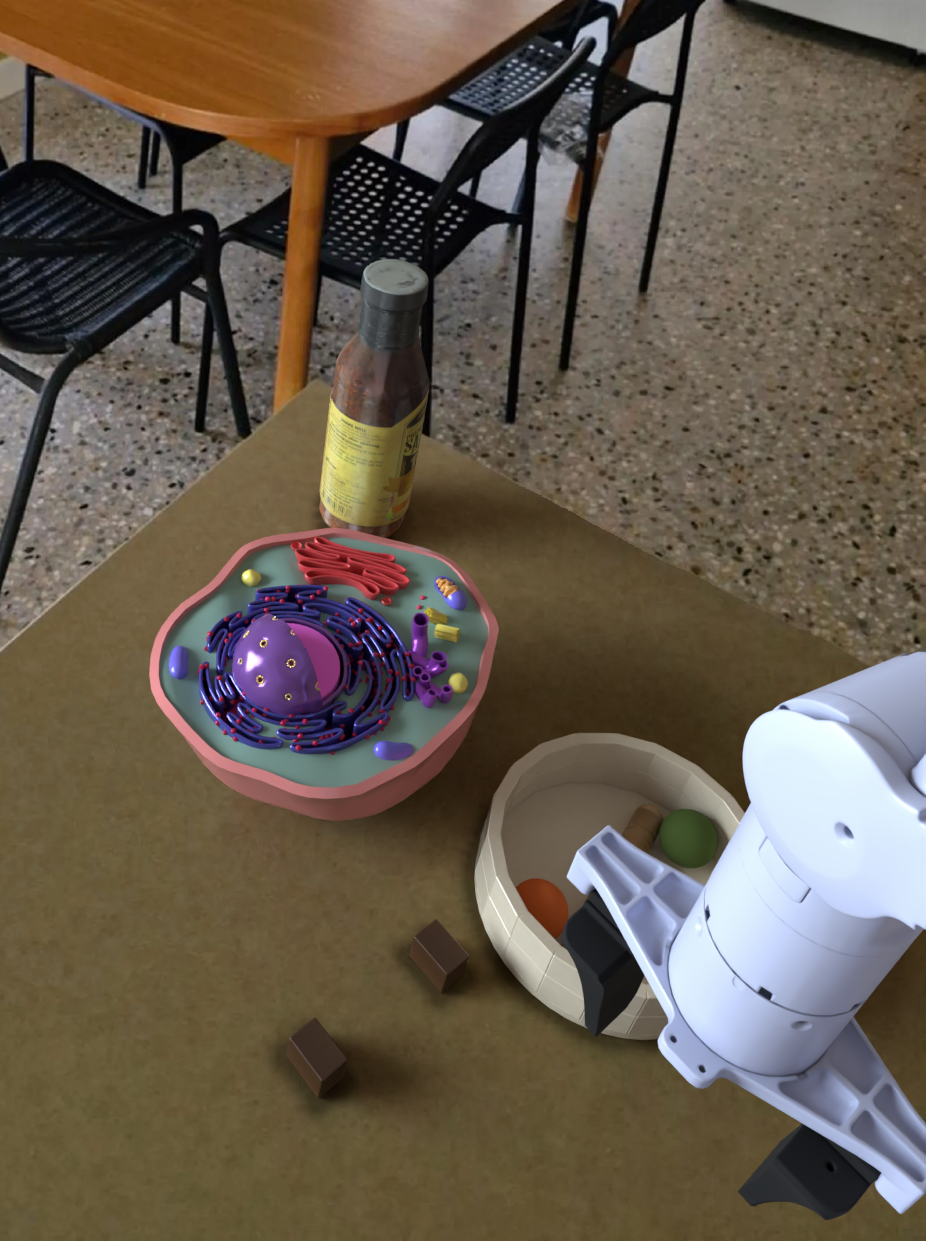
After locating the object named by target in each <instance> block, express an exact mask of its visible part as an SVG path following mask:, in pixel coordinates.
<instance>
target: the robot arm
mask: <svg viewBox="0 0 926 1241" xmlns="http://www.w3.org/2000/svg"><path fill="white" fill-rule="evenodd" d="M743 741H744V742H743V747H742V771H743V778H744V784H745V788H746V791H747V794H748V798H749V801H750V803H749V806H748V807H747V809H746V811H744V813H745V814H744V816H743V818H742V820H741V821H740V823H739V825H738V827H737V829H736V830H735V832H734V834H733V836H732V838H731V839H730V841H729V843H728V845H727V847H726V848H725V850H724V852H723V854H722V856H721V857H720V859H719V861H718V863H717V865H716V866H715V868H714V870H713V872H712V873H711V876H710V878H709V880H708V881H707V883H706V885H704V884H702V883H700V882H699V881H697V880H695V879H693V878H691V877H689V876H687V875H686V874H684V873H682V872H680V871H678V870H676V869H674V868H673V867H671V866H669V865H667V864H665V863H663V862H661V861H660V860H658V859H656V858H654V857H652V856H651V855H649V854H647V853H646V852H644V851H642V850H641V849H639V848H637V847H636V846H635V845H633V844H632V843H630V842H629V841H628V840H626V839H625V838H624V837H623V836H622V835H621V834H619V833H618V832H617V831H616V830H615V829H614V828H613V827H612V826H610V825H608V826H606V827H605V828H604V829H603V830H602V831H600V832H599V833H598V834H597V835H596V836H594V837H593V838H592V839H591V840H590V841H589V842H587V843H586V844H585V845H584V846H583V847H581V848H580V849H579V850H578V851H577V853H576V855H575V857H574V860H573V862H572V865H571V867H570V869H569V872H568V874H567V878H568V879H569V880H570V881H571V882H572V883H573V884H574V885H575V886H576V887H577V888H578V889H579V891H580V892H582V893H583V894H585V895H590V896H589V898H588V900H586V901H585V902H584V904H583V906H582V907H581V908H580V909H579V910H578V911H576V912H575V913H574V914H573V915H572V916H571V917H570V918H569V919H568V920H567V922H566V924H565V926H564V929H563V933H562V939H561V943H562V944H563V945H564V947H565V948H566V949H567V951H568V952H569V954H570V956H571V958H572V959H573V961H574V964H575V966H576V968H577V971H578V974H579V977H580V981H581V985H582V991H583V998H584V1012H585V1026H586V1027H587V1028H586V1029H588V1031H589V1032H590V1033H591V1034H592V1035H593V1036H594V1037H595V1038H597V1037H598V1036H599V1035H600V1034H602V1033H601V1032H602V1031H603V1030H604V1029H605V1028H606V1027H607V1026H608V1025H609V1024H610V1023H612V1022H613V1021H614V1020H615V1019H616V1018H617V1017H618V1016H619V1015H620V1014H621V1013H622V1012H623V1011H624V1010H625V1009H626V1008H627V1007H628V1005H629V1004H630V1002H631V1001H632V999H633V998H634V996H635V995H636V993H637V991H638V989H639V987H640V985H641V983H642V980H643V978H644V976H645V977H646V979H647V981H648V982H649V984H650V986H651V988H652V990H653V992H654V993H655V995H656V997H657V999H658V1001H659V1002H660V1004H661V1006H662V1008H663V1010H664V1012H665V1013H666V1015H667V1017H668V1024H667V1025H666V1026H665V1028H664V1029H663V1031H662V1033H661V1034H660V1036H659V1038H658V1039H657V1045H658V1046H657V1048H658V1049H659V1052H660V1053H661V1054H662V1056H663V1057H664V1058H665V1059H666V1060H667V1061H668V1062H669V1063H670V1065H672V1066H673V1068H674V1069H676V1071H677V1072H678V1073H679V1074H680V1075H681V1076H682V1077H683V1078H684V1079H685V1080H686V1082H688V1084H690V1085H692V1086H693V1087H694V1088H696V1089H702V1090H705V1089H707V1088H708V1087H711V1085H713V1083H715V1081H716V1080H718V1079H721V1078H722V1079H726V1080H728V1081H730V1082H732V1083H733V1084H735V1085H737V1086H739V1087H740V1088H742V1089H743V1090H745V1091H747V1092H749V1093H750V1094H752V1095H754V1096H756V1097H757V1098H758V1099H760V1100H762V1101H764V1102H765V1103H767V1104H769V1105H770V1106H772V1107H773V1108H776V1109H777V1110H779V1111H781V1112H782V1113H784V1114H785V1115H788V1116H789V1117H791V1118H793V1119H794V1120H796V1121H798V1122H799V1123H801V1124H799V1125H798V1126H797V1127H796V1128H794V1129H793V1130H792V1131H791V1132H790V1133H789V1134H787V1135H786V1136H785V1137H784V1138H782V1139H781V1140H780V1141H779V1142H778V1144H777V1145H776V1146H775V1147H774V1148H773V1150H771V1152H770V1153H769V1154H768V1155H767V1157H765V1159H764V1160H763V1161H762V1162H761V1163H760V1164H759V1166H758V1167H757V1168H756V1169H755V1170H754V1171H753V1172H752V1174H751V1175H750V1176H749V1177H748V1179H746V1181H745V1182H744V1183H743V1184H742V1186H740V1188H739V1189H738V1190H737V1193H738V1194H739V1195H740V1196H741V1197H742V1198H743V1199H744V1201H745V1202H746V1203H747V1204H748V1205H749V1206H750V1207H756V1206H759V1205H763V1204H767V1203H793V1204H795V1205H799V1206H801V1207H804V1208H807V1209H809V1210H811V1211H812V1212H814V1213H815V1214H817V1215H818V1216H819V1217H820V1218H822V1219H823V1220H824V1221H830V1220H833V1219H837V1218H839V1217H841V1216H843V1215H845V1214H847V1213H848V1212H849V1211H851V1210H852V1209H853V1208H854V1207H855V1206H856V1205H857V1203H858V1202H859V1201H860V1200H861V1198H862V1197H863V1196H864V1194H865V1193H866V1192H867V1190H868V1189H869V1188H870V1187H871V1185H873V1183H874V1187H875V1189H876V1191H877V1193H878V1194H879V1195H880V1196H882V1197H883V1199H884V1200H885V1201H886V1202H887V1203H888V1204H889V1205H890V1206H891V1207H892V1208H893V1209H895V1211H896V1212H897V1213H898V1214H900V1215H903V1214H905V1213H906V1212H907V1211H908V1210H909V1209H910V1208H911V1207H912V1206H913V1205H915V1203H917V1202H918V1201H919V1200H920V1199H921V1198H922V1197H924V1195H925V1194H926V1121H925V1120H924V1119H923V1118H922V1116H921V1114H920V1113H918V1111H917V1109H916V1108H915V1107H914V1106H913V1104H912V1102H911V1101H910V1100H909V1099H908V1097H907V1096H906V1094H905V1093H904V1091H903V1090H902V1088H901V1087H900V1085H899V1084H898V1081H896V1079H895V1077H894V1076H893V1075H892V1073H891V1071H890V1070H889V1069H888V1067H887V1065H886V1063H884V1061H883V1059H882V1058H881V1056H880V1054H879V1053H878V1052H877V1050H876V1048H875V1046H874V1045H873V1044H872V1043H871V1041H870V1040H869V1038H868V1036H867V1035H866V1033H865V1031H863V1029H862V1027H861V1025H860V1024H859V1023H858V1021H857V1019H856V1018H855V1017H854V1016H856V1014H857V1013H858V1012H859V1010H860V1009H861V1008H862V1006H863V1005H865V1003H866V1002H867V1000H868V999H869V997H870V996H871V995H872V994H873V993H874V991H875V990H876V988H877V987H878V986H879V985H880V983H881V982H882V981H883V980H884V979H885V978H886V976H887V975H888V974H889V973H890V972H891V970H892V969H893V968H894V966H895V965H896V964H897V962H898V961H899V960H900V959H901V958H902V956H903V955H904V954H905V953H906V951H907V950H908V949H909V948H910V947H911V945H912V944H913V943H914V941H915V940H916V939H917V938H918V937H919V936H920V935H921V933H922V932H923V931H924V930H925V931H926V651H916V652H913V653H911V654H909V653H908V652H906V653H905V652H904V653H902V654H900V655H897V656H894V657H892V658H890V659H887V660H885V661H882V662H879V663H877V664H875V665H873V666H869V667H868V668H864V669H863V670H860V671H858V672H855V673H853V674H850V675H848V676H846V677H843V678H841V679H838V680H835V681H833V682H831V683H828V684H826V685H823V686H820V687H818V688H816V689H813V690H811V691H809V692H806V693H804V694H801V695H798V696H796V697H793V698H790V699H789V700H786V701H783V702H781V703H780V704H778V705H777V706H776V707H774V708H773V709H772V710H770V711H766V712H764V713H763V714H761V715H759V716H758V717H757V718H756V719H755V720H754V721H753V722H752V724H750V727H749V728H748V730H747V732H746V735H745V737H744V740H743Z"/></svg>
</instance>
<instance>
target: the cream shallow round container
mask: <svg viewBox="0 0 926 1241" xmlns="http://www.w3.org/2000/svg"><path fill="white" fill-rule="evenodd" d="M643 804H651V805H654V806H656V807H657V808H658V809H659V810H660V811H661V813H662V815H663V818H664V819H665V818H666V816H667V815H669V814H670V813H671V812H673V811H676V810H679V809H692V810H695V811H698V812H700V813H701V814H703V815H704V816H706V817H707V818H708V819H709V820H710V822H711V823H712V824H713V826H714V828H715V830H716V833H717V838H718V846H717V851H716V853H715V855H714V857H713V858H712V859H711V861H710V862H708V863H707V864H706V865H704V866H702V867H699V868H685V867H681V866H679V865H677V864H675V863H674V862H672V861H671V860H670V859H669V858H668V857H667V856H666V854H665V853H664V851H663V849H662V847H661V844H660V840H659V834H658V836H657V838H656V840H655V842H654V844H653V846H652V848H651V850H650V852H649V853H648V854H649V855H651V856H652V857H654V858H656V859H658V860H660V861H661V862H663V863H665V864H667V865H669V866H671V867H673V868H674V869H676V870H678V871H680V872H682V873H684V874H686V875H687V876H689V877H691V878H693V879H695V880H697V881H699V882H700V883H702V884H704V885H706V883H707V881H708V880H709V878H710V876H711V873H712V872H713V870H714V868H715V866H716V865H717V863H718V861H719V859H720V857H721V856H722V854H723V852H724V850H725V848H726V847H727V845H728V843H729V841H730V839H731V838H732V836H733V834H734V832H735V830H736V829H737V827H738V825H739V823H740V821H741V820H742V818H743V816H744V814H745V811H744V810H743V808H742V807H741V806H740V804H739V802H738V801H737V800H736V798H735V797H734V796H733V795H732V794H731V793H730V792H729V791H728V790H727V789H725V788H724V787H723V786H722V785H721V784H720V783H718V782H717V781H716V780H715V779H714V778H713V777H712V776H710V775H709V774H708V772H706V771H705V770H704V769H703V768H702V767H700V766H699V765H697V764H696V763H694V762H692V761H691V760H689V759H686V758H685V757H683V756H681V755H679V754H677V753H675V752H674V751H672V750H669V749H668V748H666V747H664V746H662V745H660V744H658V743H655V742H652V741H649V740H644V739H641V738H637V737H633V736H630V735H626V734H621V733H618V732H575V733H571V734H567V735H564V736H562V737H561V736H560V737H558V738H554V739H551V740H547V741H545V742H542V743H540V744H537V746H535V747H534V748H532V749H531V750H530V751H529V752H527V753H526V754H524V755H523V756H522V757H521V758H519V759H518V760H516V761H515V762H514V763H512V764H511V766H509V768H508V771H507V772H506V773H505V775H504V777H503V778H502V780H501V782H500V783H499V785H498V787H497V789H496V790H495V792H494V794H493V796H492V799H491V803H490V805H489V808H488V810H487V811H488V812H487V814H486V817H485V821H484V824H483V827H482V830H481V833H480V836H479V844H478V847H477V853H476V858H475V863H474V878H473V879H474V880H473V881H474V889H475V898H476V903H477V908H478V912H479V915H480V918H481V921H482V924H483V927H484V930H485V931H486V934H487V936H488V938H489V940H490V942H491V945H492V946H493V949H494V950H495V952H496V953H497V954H498V956H499V958H500V959H501V960H502V962H503V964H504V965H505V966H506V967H507V969H508V970H509V971H510V972H511V974H512V975H513V976H514V977H515V979H516V980H517V982H519V983H520V984H521V985H522V986H523V987H524V988H525V989H526V990H527V991H528V992H529V993H530V994H531V995H532V996H534V997H535V998H536V999H537V1000H538V1001H540V1002H541V1003H542V1004H543V1005H545V1006H546V1007H547V1008H549V1009H550V1010H552V1011H553V1012H555V1013H557V1014H558V1015H560V1016H561V1017H563V1018H564V1019H567V1021H570V1022H572V1023H575V1024H577V1025H579V1026H580V1027H583V1028H585V1029H588V1028H587V1027H586V1026H585V1012H584V998H583V991H582V985H581V981H580V977H579V974H578V971H577V968H576V966H575V964H574V961H573V959H572V958H571V956H570V954H569V952H568V951H567V949H566V948H564V947H562V946H561V944H562V943H561V939H562V933H563V932H562V933H561V934H560V935H559V936H558V937H557V938H555V939H554V938H553V937H552V936H551V935H550V933H549V932H548V931H547V930H546V929H545V928H544V927H543V926H542V925H541V924H540V923H539V922H538V921H537V920H536V919H535V918H534V917H533V916H532V914H531V913H530V912H529V911H528V910H527V908H526V906H525V904H524V902H523V900H522V898H521V897H520V895H519V893H518V891H517V889H516V887H517V886H518V885H519V884H520V883H521V882H523V881H525V880H528V879H532V878H539V879H544V880H547V881H549V882H551V883H553V884H554V885H556V886H557V887H558V888H559V889H560V890H561V892H562V893H563V895H564V896H565V899H566V901H567V904H568V910H569V917H568V919H569V918H570V917H571V916H572V915H573V914H574V913H575V912H576V911H578V910H579V909H580V908H581V907H582V906H583V904H584V902H585V900H586V899H587V897H588V895H585V894H583V893H582V892H580V891H579V889H578V888H577V887H576V886H575V885H574V884H573V883H572V882H571V881H570V880H569V879H568V878H567V874H568V872H569V869H570V867H571V865H572V862H573V860H574V857H575V855H576V853H577V851H578V850H579V849H580V848H581V847H583V846H584V845H585V844H586V843H587V842H589V841H590V840H591V839H592V838H593V837H594V836H596V835H597V834H598V833H599V832H600V831H602V830H603V829H604V828H605V827H606V826H608V825H610V826H612V827H613V828H614V829H615V830H616V831H617V832H618V833H619V834H621V835H622V834H623V832H624V830H625V828H626V826H627V825H628V823H629V821H630V819H631V817H632V816H633V814H634V812H635V810H636V809H637V808H638V807H639V806H640V805H643ZM667 1024H668V1017H667V1015H666V1013H665V1012H664V1010H663V1008H662V1006H661V1004H660V1002H659V1001H658V999H657V997H656V995H655V993H654V992H653V990H652V988H651V986H650V984H649V982H648V981H647V979H646V977H645V976H644V978H643V980H642V983H641V985H640V987H639V989H638V991H637V993H636V995H635V996H634V998H633V999H632V1001H631V1002H630V1004H629V1005H628V1007H627V1008H626V1009H625V1010H624V1011H623V1012H622V1013H621V1014H620V1015H619V1016H618V1017H617V1018H616V1019H615V1020H614V1021H613V1022H612V1023H610V1024H609V1025H608V1026H607V1027H606V1028H605V1029H604V1030H603V1031H602V1032H601V1033H600V1034H602V1035H606V1036H610V1037H615V1038H619V1039H625V1040H639V1041H648V1040H649V1041H650V1040H658V1038H659V1036H660V1034H661V1033H662V1031H663V1029H664V1028H665V1026H666V1025H667Z"/></svg>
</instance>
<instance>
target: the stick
mask: <svg viewBox="0 0 926 1241" xmlns="http://www.w3.org/2000/svg"><path fill="white" fill-rule="evenodd" d="M663 820H664V818H663V815H662V813H661V811H660V810H659V809H658V808H657V807H656V806H654V805H651V804H643V805H640V806H639V807H638V808H637V809H636V810H635V812H634V814H633V816H632V817H631V819H630V821H629V823H628V825H627V826H626V828H625V830H624V832H623V834H622V836H623V837H624V838H625V839H626V840H628V841H629V842H630V843H632V844H633V845H635V846H636V847H637V848H639V849H641V850H642V851H644V852H646V853H647V854H648V853H649V852H650V850H651V848H652V846H653V844H654V842H655V840H656V838H657V836H658V834H659V830H660V826H661V824H662V822H663ZM589 896H590V895H588V897H587V899H586V900H588V898H589ZM586 900H585V901H586ZM561 946H562V947H564V945H563V944H561ZM564 948H565V947H564Z"/></svg>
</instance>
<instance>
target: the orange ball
mask: <svg viewBox="0 0 926 1241" xmlns="http://www.w3.org/2000/svg"><path fill="white" fill-rule="evenodd" d="M516 889H517V891H518V893H519V895H520V897H521V898H522V900H523V902H524V904H525V906H526V908H527V910H528V911H529V912H530V913H531V914H532V916H533V917H534V918H535V919H536V920H537V921H538V922H539V923H540V924H541V925H542V926H543V927H544V928H545V929H546V930H547V931H548V932H549V933H550V935H551V936H552V937H553V938H554V939H555V938H557V937H558V936H559V935H560V934H561V933H562V932H563V929H564V926H565V924H566V922H567V920H568V917H569V910H568V904H567V901H566V899H565V896H564V895H563V893H562V892H561V890H560V889H559V888H558V887H557V886H556V885H554V884H553V883H551V882H549V881H547V880H544V879H539V878H532V879H528V880H525V881H523V882H521V883H520V884H519V885H518V886H517V887H516Z"/></svg>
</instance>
